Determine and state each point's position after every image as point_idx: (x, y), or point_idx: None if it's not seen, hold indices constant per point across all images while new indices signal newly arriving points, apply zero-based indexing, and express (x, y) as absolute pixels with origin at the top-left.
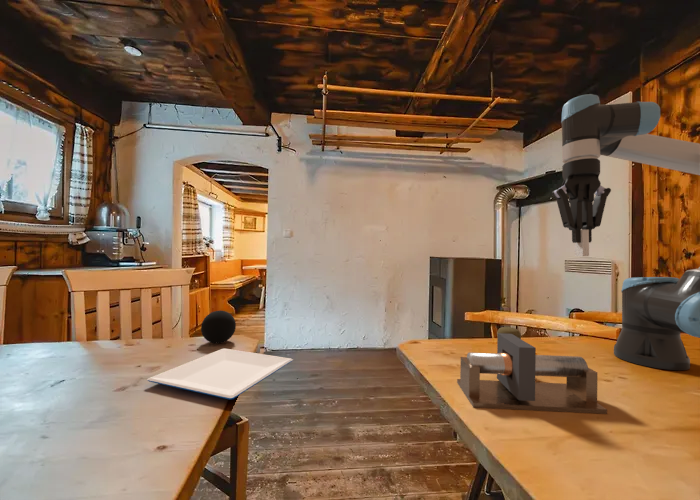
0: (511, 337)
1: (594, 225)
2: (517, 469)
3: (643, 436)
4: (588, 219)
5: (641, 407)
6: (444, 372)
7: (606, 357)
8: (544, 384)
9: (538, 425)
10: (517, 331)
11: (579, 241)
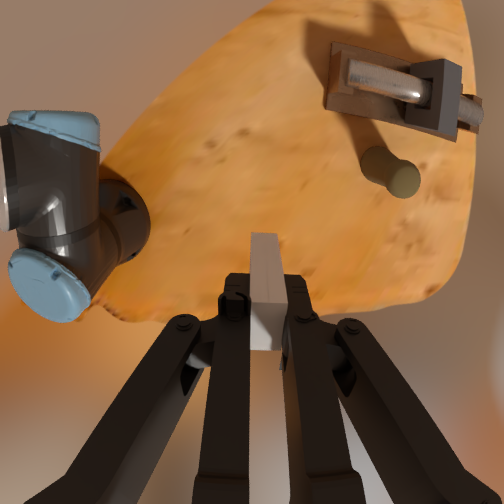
0: (449, 110)
1: (200, 327)
2: (458, 6)
3: (329, 4)
4: (245, 352)
5: (271, 53)
6: (453, 174)
7: (166, 230)
8: (363, 110)
9: (419, 39)
10: (401, 167)
11: (287, 277)
